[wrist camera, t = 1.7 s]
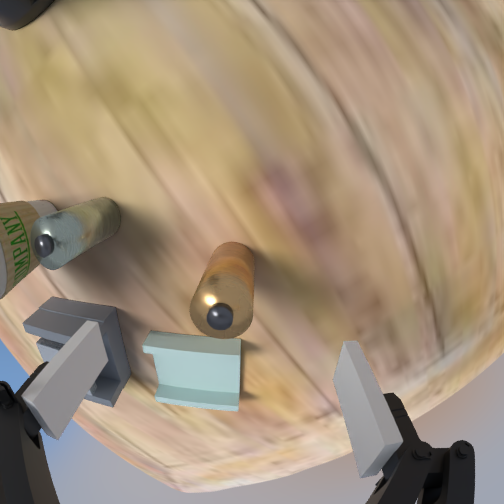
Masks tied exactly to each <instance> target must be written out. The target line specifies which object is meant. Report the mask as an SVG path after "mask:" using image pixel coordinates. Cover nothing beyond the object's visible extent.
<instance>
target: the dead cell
mask: <svg viewBox="0 0 504 504" xmlns="http://www.w3.org/2000/svg"><path fill="white" fill-rule="evenodd" d="M120 222H121V216H120V211H119V209H118V207H117V205H116V204H115V203H114V202H113V201H112V200H111V199H109V198H105V197H101V198H97V199H94V200H91V201H87V202H84V203H81V204H78V205H75V206H72V207H69V208H66V209H63V210H60V211H57V212H54V213H51V214H49V215H46V216H43V217H40V218H38V219H37V220H36V221H35V222H34V224H33V226H32V228H31V234H30V240H31V246H32V250H33V253H34V255H35V257H36V258H37V260H38V261H39V262H40V263H41V264H42V265H43V266H44V267H46V268H47V269H50V270H56V269H58V268H60V267H61V266H63V265H64V264H66V263H68V262H69V261H71V260H72V259H74V258H75V257H77V256H79V255H80V254H82V253H83V252H85V251H87V250H88V249H90V248H92V247H93V246H95V245H96V244H98V243H100V242H101V241H103V240H105V239H107V238H108V237H110V236H112V235H113V234H115V233H116V232H117V230H118V228H119V226H120Z"/></svg>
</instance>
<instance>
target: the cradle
mask: <svg viewBox="0 0 504 504" xmlns="http://www.w3.org/2000/svg"><path fill="white" fill-rule="evenodd" d="M87 320H88V321H94V322H98V324H99V328H100V332H101V336H102V340H103V344H104V347H105V351H106V354H107V357H108V362H107V363H106V365H105V366H104V368H103V369H102V371H101V372H100V374H99V375H98V377H97V379H96V380H95V383H96V385H97V389H96V390H95V392H94V394H93V395H92V396H91V395H88V394H86V396H85V397H84V399H86V400H89V401H93V402H96V403H99V404H103V405H106V406H110V407H114V405H115V403H116V401H117V399H118V397H119V395H120V393H121V391H122V389H124V387H125V385H126V383H127V381H128V379H129V377H130V375H131V370H130V366H129V363H128V359H127V355H126V351H125V347H124V343H123V339H122V335H121V331H120V326H119V322H118V317H117V312H116V307H111V306H104V305H98V304H91V303H85V302H79V301H73V300H68V299H62V298H57V297H51V298H50V299H49V300H47V301H46V302H45V303H44V304H43V305H41V306H40V307H39V309H38V310H37V311H36V312H35V313H33V314H32V315H31V316H30V317H29V318H28V319H27V320H25V321H24V322H23V326H24V328H25V331H26V332H27V333H30V334H33V335H36V336H39V337H42V338H45V339H49V340H52V341H55V342H59V343H62V344H66V343H67V342H68V340H69V339H70V338H71V337H72V336H73V335H74V334H75V333H76V332H77V331H78V330H79V329H80V328H81V326H82V325H83V324H84V323H85V322H86V321H87Z"/></svg>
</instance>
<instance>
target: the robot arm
mask: <svg viewBox="0 0 504 504" xmlns="http://www.w3.org/2000/svg"><path fill="white" fill-rule="evenodd" d="M53 1H54V0H0V26H1V27H3V28H6V29H9V30H16V29H19V28H21V27H23V26H25V25H26V24H28V23H29V22H31V21H32V20H33V19H34V18H36V17H37V16H38V15H39V14H40V13H41V12H43V11H44V10H45V9H46V8H47V7H48V6H49V5H50V4H51V3H52V2H53ZM107 362H108V357H107V354H106V351H105V347H104V344H103V340H102V336H101V332H100V328H99V324H98V322H94V321H88V320H87V321H86V322H85V323H84V324H83V325H82V326H81V328H80V329H79V330H78V331H77V332H76V333H75V334H74V335H73V336H72V337H71V338H70V339H69V340H68V342H67V343H66V344H65V345H64V346H63V347H62V348H61V349H60V350H59V352H58V353H57V354H56V355H55V356H54V357H53V358H52V359H51V361H50V362H48V361H46V362H44V363H43V364H41V365H39V366H38V367H37V369H36V370H35V371H34V373H32V374H31V376H30V378H28V379H27V380H26V381H25V383H24V384H23V385H22V386H21V388H20V389H19V390H18V391H17V392H16V393H15V394H14V392H13V391H12V389H11V387H10V385H9V384H8V383H7V382H5V381H0V504H60V503H59V500H58V497H57V494H56V491H55V488H54V485H53V482H52V479H51V475H50V471H49V468H48V464H47V460H46V455H45V451H44V446H43V441H42V436H41V434H40V432H39V431H40V429H41V428H42V429H43V430H44V432H45V433H46V434H47V435H48V436H50V437H52V438H54V439H57V440H59V438H60V437H61V435H62V433H63V432H64V430H65V428H66V426H67V425H68V423H69V422H70V420H71V418H72V417H73V415H74V413H75V412H76V410H77V408H78V407H79V405H80V404H81V402H82V400H83V399H84V397H85V396H86V394H87V392H88V391H89V389H90V388H91V386H92V385H93V383H94V382H95V380H96V379H97V377H98V375H99V374H100V372H101V371H102V369H103V368H104V366H105V365H106V363H107ZM333 382H334V385H335V388H336V392H337V395H338V399H339V402H340V406H341V409H342V413H343V416H344V420H345V423H346V427H347V430H348V434H349V438H350V441H351V445H352V449H353V453H354V457H355V460H356V464H357V468H358V472H359V476H360V478H364V477H369V476H374V475H377V474H378V473H379V471H380V470H381V469H382V471H383V474H384V476H383V477H382V478H381V479H380V480H379V481H378V482H377V483H376V486H377V487H376V488H375V490H374V492H373V493H372V495H371V496H370V498H369V499H368V501H367V503H366V504H415V502H416V500H417V498H418V500H417V504H474V491H475V454H474V449H473V446H472V445H471V444H470V443H468V442H467V441H463V440H460V441H457V442H455V443H453V445H452V446H451V447H450V448H432V447H431V446H430V445H429V444H428V443H426V442H423V441H421V440H420V439H419V437H418V435H417V433H416V430H415V428H414V426H413V424H412V422H411V420H410V418H409V416H408V414H407V412H406V410H405V409H404V408H405V407H404V405H403V403H402V401H401V399H399V398H398V397H397V396H396V395H395V394H394V393H387V394H383V393H382V391H381V389H380V387H379V385H378V382H377V380H376V378H375V376H374V374H373V372H372V370H371V368H370V366H369V363H368V361H367V359H366V357H365V355H364V353H363V351H362V349H361V347H360V345H359V343H358V341H343V345H342V349H341V353H340V356H339V360H338V364H337V367H336V371H335V374H334V377H333Z"/></svg>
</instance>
